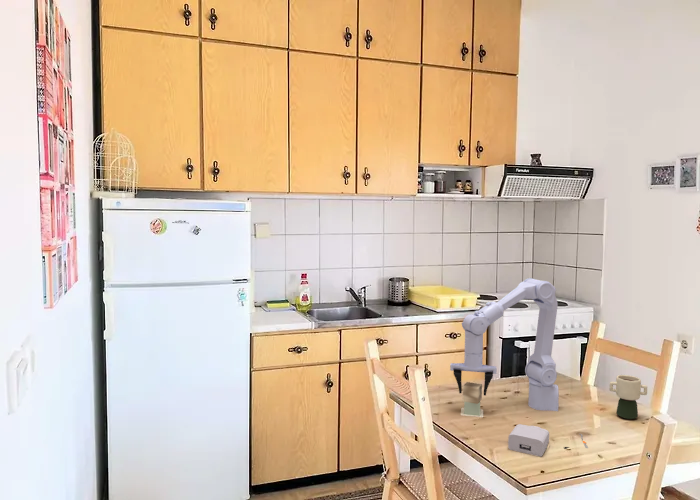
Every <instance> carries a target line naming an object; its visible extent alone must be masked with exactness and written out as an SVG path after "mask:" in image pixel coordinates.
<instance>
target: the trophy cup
mask: <svg viewBox="0 0 700 500" xmlns="http://www.w3.org/2000/svg"><path fill="white" fill-rule="evenodd" d="M641 383H642V379H641V378H640V377H637V376H633V375H629V374H621V375H619V374H618V375H616V380H615V381H610V382H609V391H610V392H612V393H615V395H616V396H617V397H618V398H619V399H618V402H617V407H616V415H617V416H619V417H621V418H623V419H628V420H629V419H630V420H632V419H637V418H638V416H639V412H638V411H639V409H638V402H637V401H638V400H640V398H641V396H647V394H648V385H646V384H641ZM614 386H615V388H614ZM641 389H643V391H641Z"/></svg>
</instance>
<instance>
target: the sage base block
mask: <svg viewBox="0 0 700 500" xmlns="http://www.w3.org/2000/svg"><path fill="white" fill-rule="evenodd" d="M463 403H464V404H463V408H464V414H467V415H477V416H480V409H481V401H480V402H479V403H478V404H475V403H469V402H463Z"/></svg>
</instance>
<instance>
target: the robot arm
mask: <svg viewBox="0 0 700 500" xmlns="http://www.w3.org/2000/svg"><path fill="white" fill-rule="evenodd" d="M556 291H557V289H556V287H555V285H553V284H552V283H551V282H550V281H548V280H542V279H540V280H539V279H536V278H532V277H528V278H526V279H524V280H523V281H520V282H519V283H518V285H517V286H516V287H515V288H514V289H512V290H511V291H510V292H509V293H507V294H506V295H504V296H503V298H500V299H499V300H498V301H488V302H486V303H485V306H483V307H481V308H480V309H478V310H474V313H473V314H472V313H469V314H467V315H466V316H465V317H464V318H463V321H462V322H461V327H462V329H463V330H464V360H463V362H459V363H455V362H453V363H452V362H450V364H449V365H450V367H449V371H451V372H452V371H453V376H454V378H455V380H456V384H457V387H458V393H459V394H463V385H462V377H463V375H462V372H472V373H473V372H475V373H484V384H483V396H487V391H488V389H489V385H490V383H491V381H492V379H493V376H494V375H497V366H495V365H494V366H493V365H487V364H483V361H484V360H483V357H484V355H483V354H484V352H483V351H484V334H485V333H486V331H487V330H488V327H489V326H490V325H492V324H493V323H495V322H497V321H498V320H499V319H501V318H502V317H503V316H504V311H506V310H507V309H509V308H511V307H513V306H514V305H516V304H517V303H519V302H520V301H523V300H533V302H534V303H535V304H536V305H537V306H538V307H539V311H538V320H537V325H536V327H537V328H536V333H535V342H534V343H535V344H534V350H533V353H532V354H531V355H530V356H529V357H528V362H527V363H526V365H525V369H524V372H525V373H524V374H525V375H526V377H527V378H528V402H527V403H528V407H529V408H531V409H534V410H537V411H549V412H550V411H551V412H559V399H560V398H559V386H558V384H555V382H556V381H557V378H558V377H557V376H558V373H557V370H556V367H557V365H556V362H555V360H554V358H553V356H552V354H553V353H552V352H553V346H554V336H555V328H556V322H557V321H556V320H557V313H558V305H559V303H558V299H557V296H556Z"/></svg>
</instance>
